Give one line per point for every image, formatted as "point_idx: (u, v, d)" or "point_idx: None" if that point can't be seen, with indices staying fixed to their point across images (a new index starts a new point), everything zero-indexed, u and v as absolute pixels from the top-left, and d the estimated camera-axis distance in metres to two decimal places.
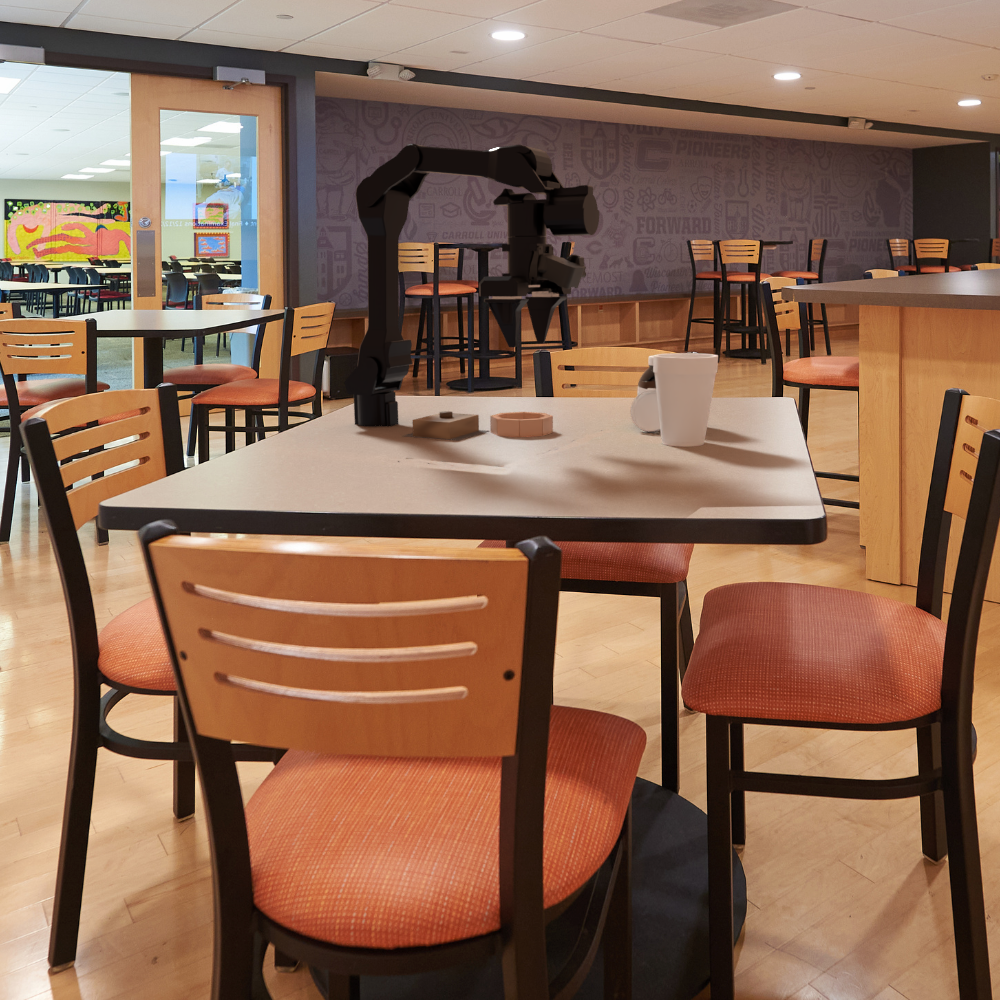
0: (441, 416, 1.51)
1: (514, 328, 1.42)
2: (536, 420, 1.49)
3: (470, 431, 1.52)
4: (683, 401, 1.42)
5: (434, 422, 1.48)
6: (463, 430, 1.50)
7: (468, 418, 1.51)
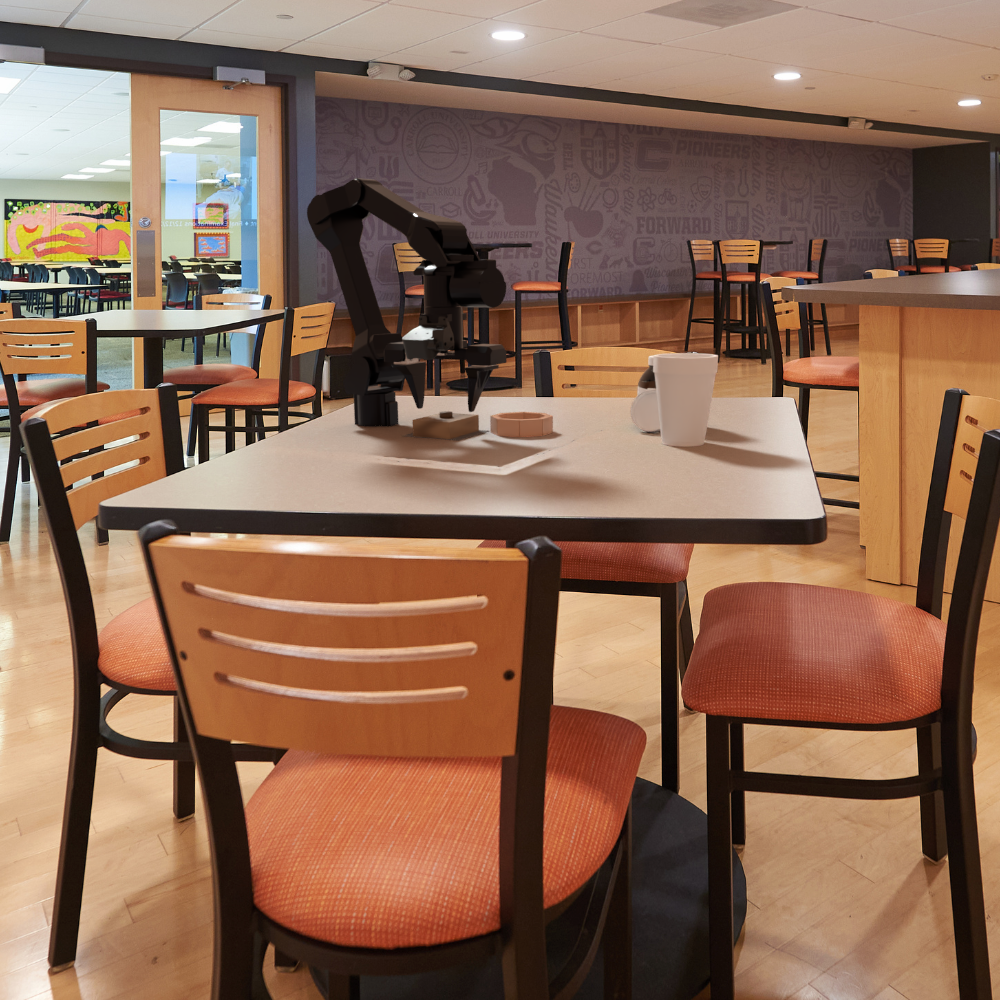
0: (441, 416, 1.51)
1: (412, 391, 1.53)
2: (536, 420, 1.49)
3: (470, 431, 1.52)
4: (683, 401, 1.42)
5: (434, 422, 1.48)
6: (463, 430, 1.50)
7: (468, 418, 1.51)
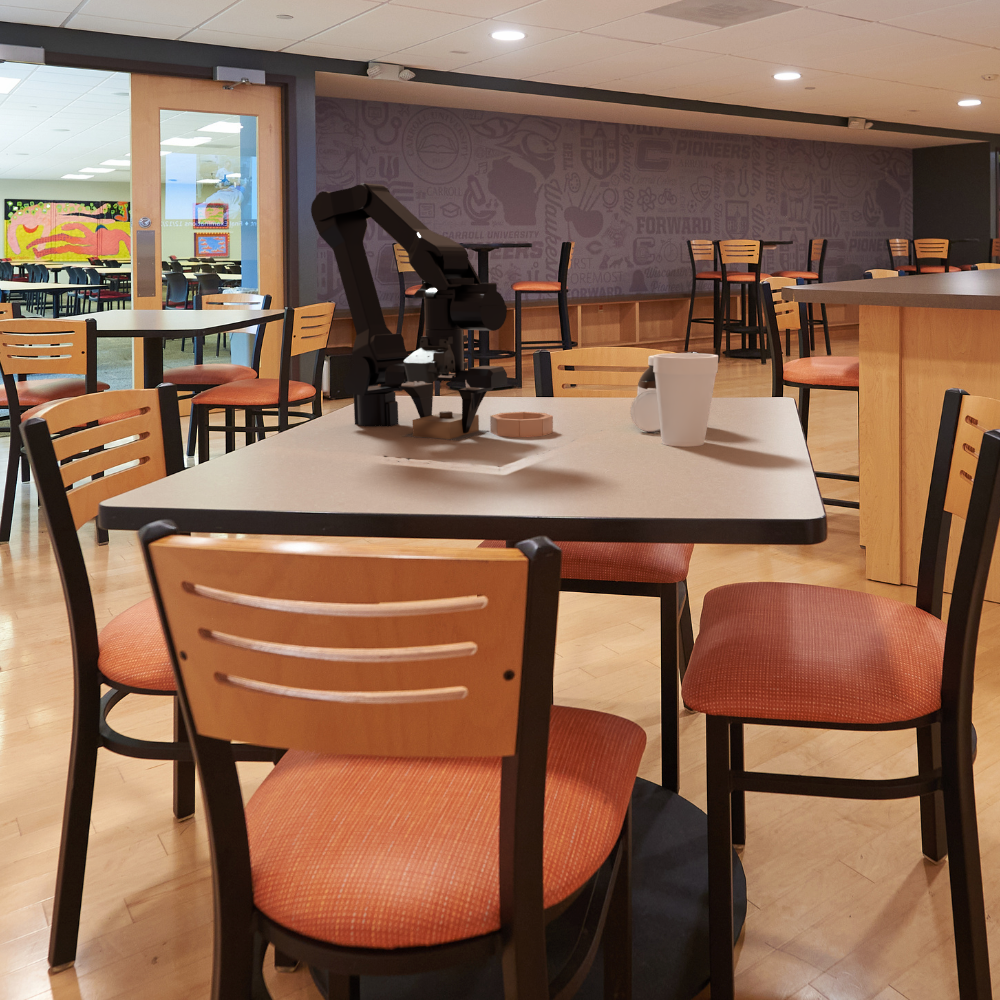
0: (441, 416, 1.51)
1: (419, 413, 1.53)
2: (536, 420, 1.49)
3: (470, 431, 1.52)
4: (683, 401, 1.42)
5: (434, 422, 1.48)
6: None
7: None
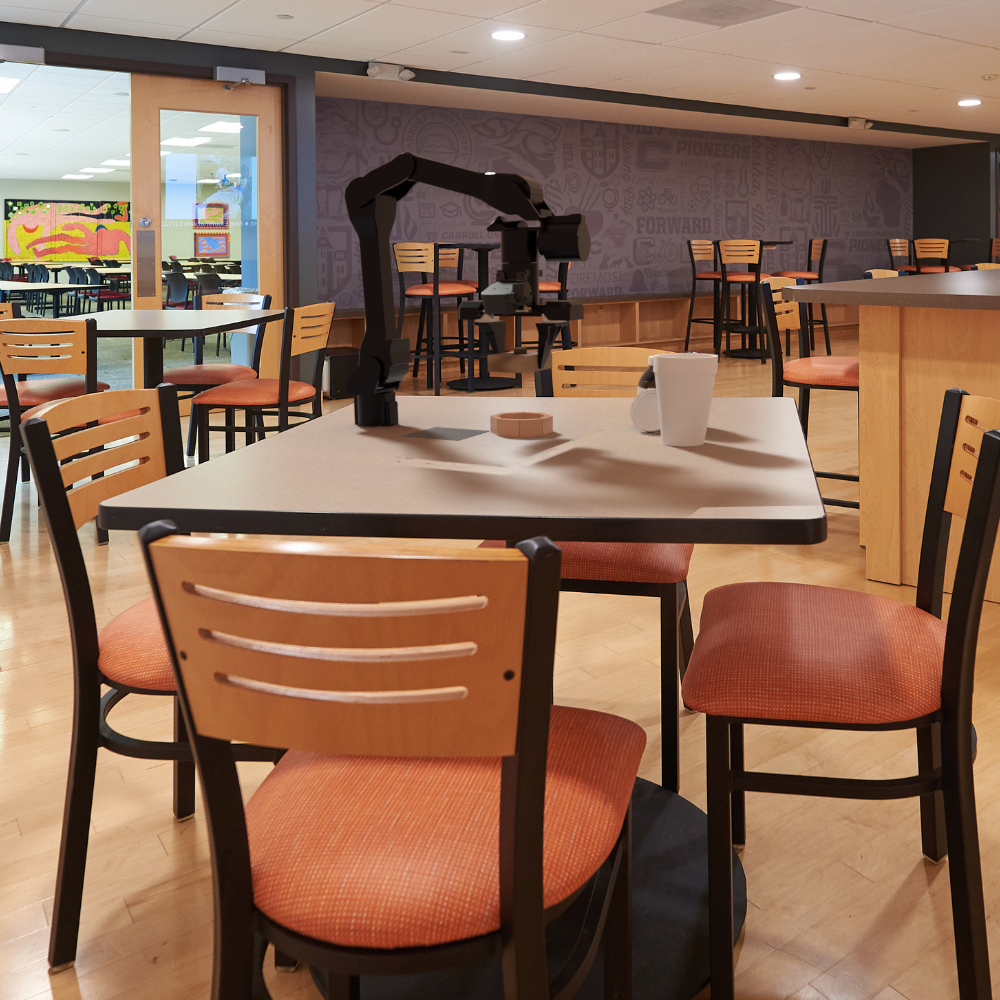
0: (516, 352, 1.49)
1: (493, 349, 1.51)
2: (536, 420, 1.49)
3: (544, 368, 1.51)
4: (683, 401, 1.42)
5: (510, 356, 1.46)
6: None
7: None
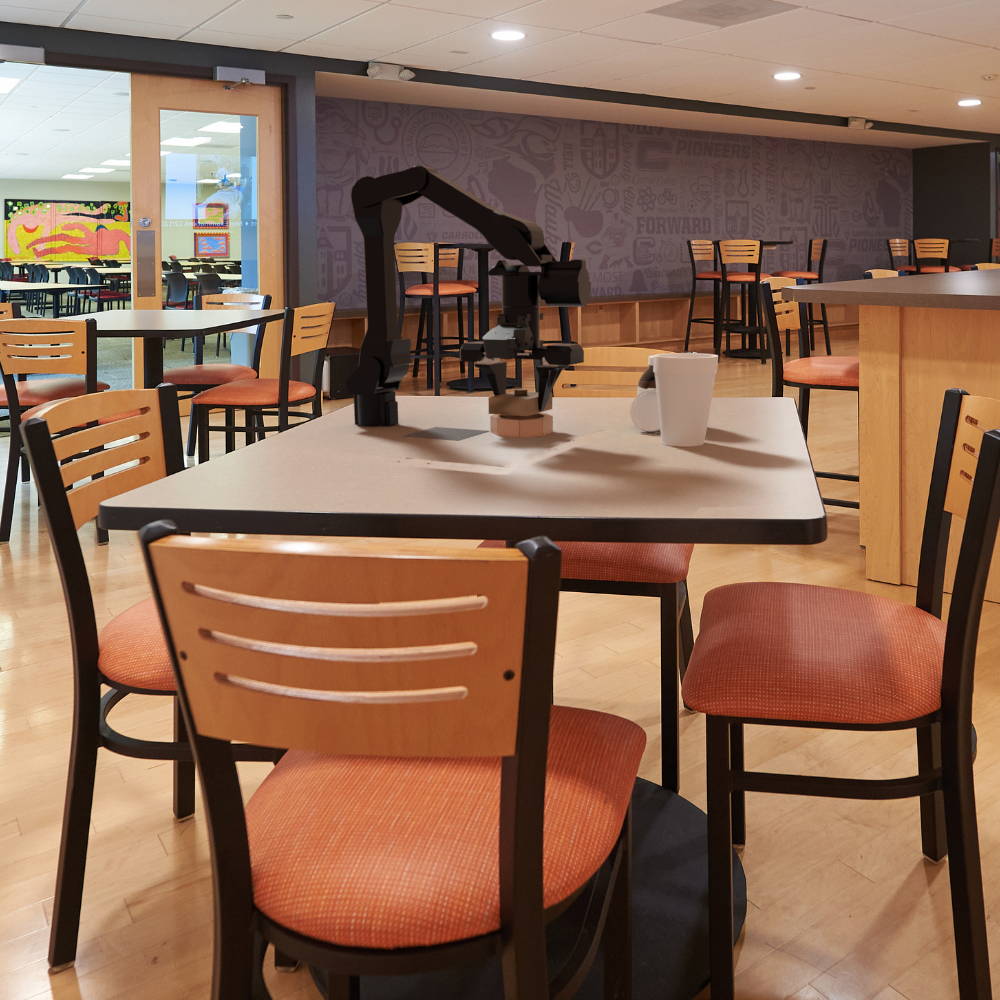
0: (516, 394, 1.51)
1: (494, 391, 1.53)
2: (536, 420, 1.49)
3: (545, 409, 1.52)
4: (683, 401, 1.42)
5: (511, 399, 1.47)
6: None
7: None
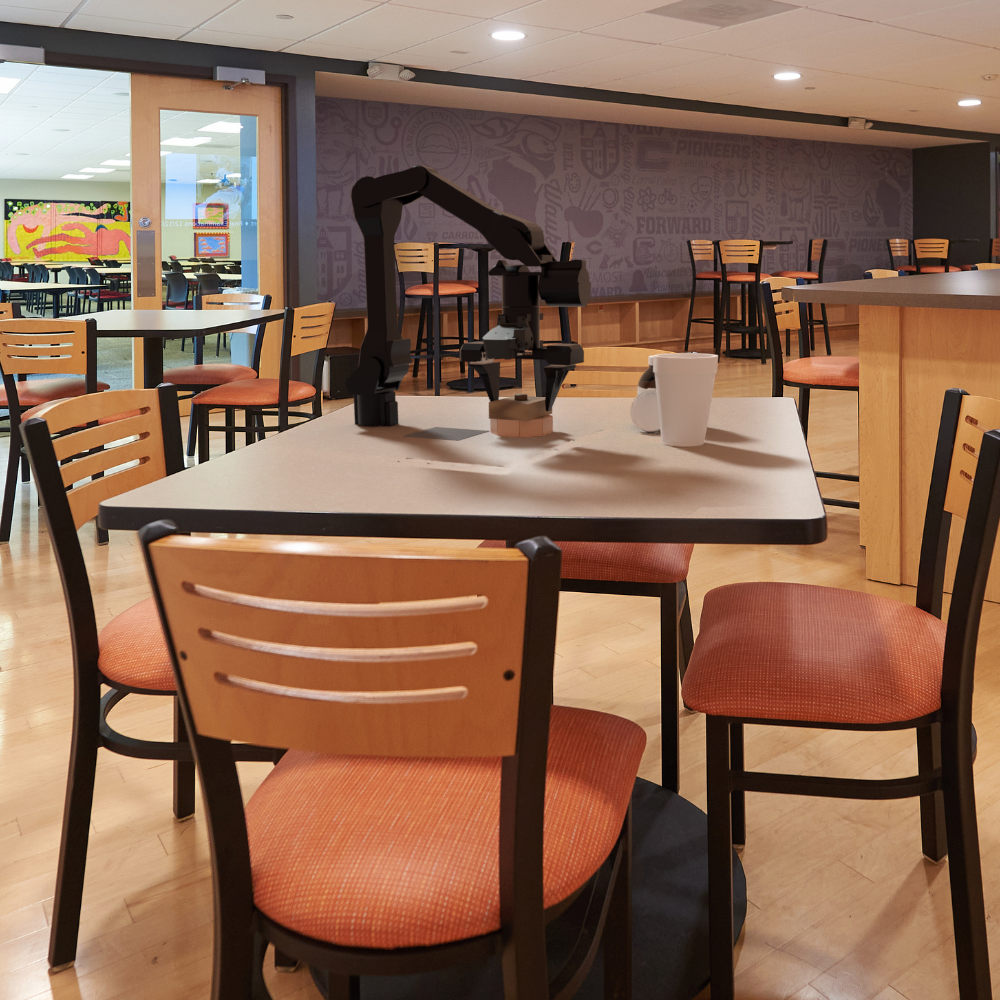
0: (516, 398, 1.51)
1: (487, 391, 1.53)
2: (536, 420, 1.49)
3: (545, 414, 1.52)
4: (683, 401, 1.42)
5: (511, 404, 1.48)
6: (539, 412, 1.50)
7: (543, 400, 1.52)
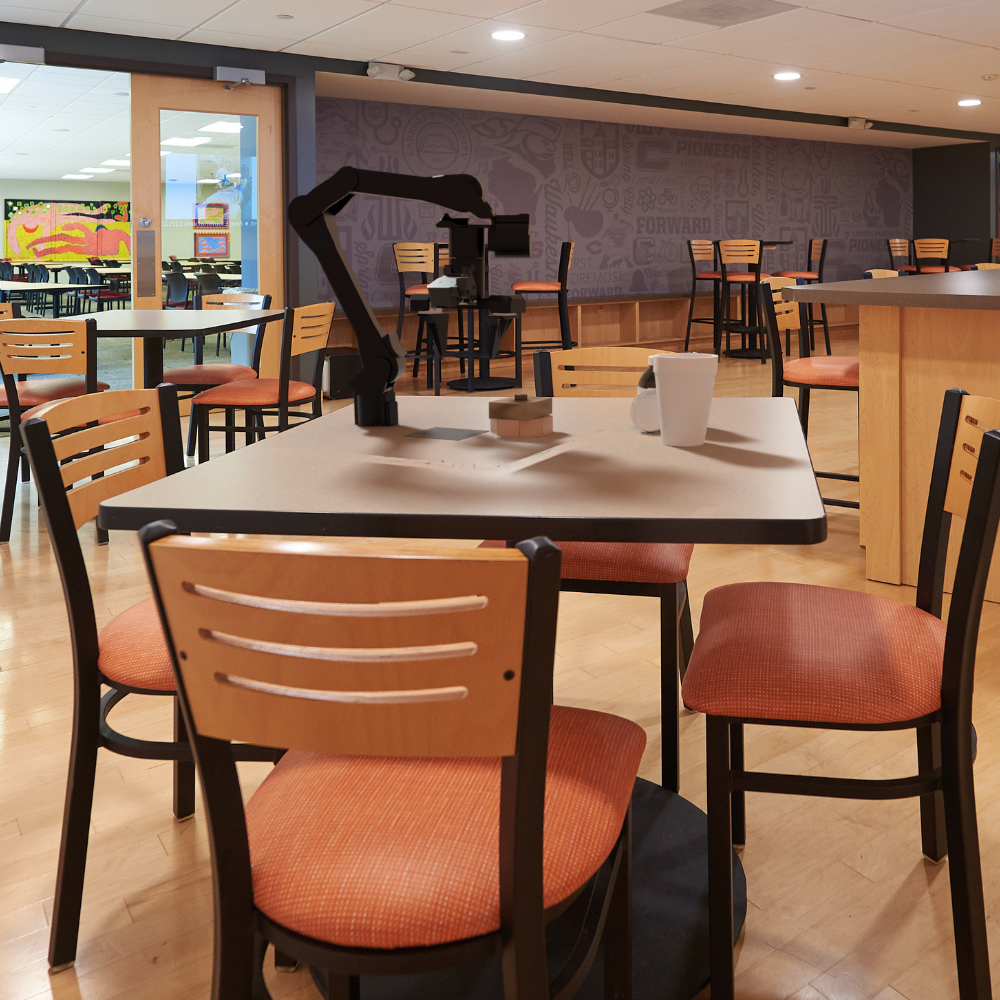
0: (516, 398, 1.51)
1: (435, 340, 1.60)
2: (536, 420, 1.49)
3: (545, 414, 1.52)
4: (683, 401, 1.42)
5: (511, 404, 1.48)
6: (539, 412, 1.50)
7: (543, 400, 1.52)
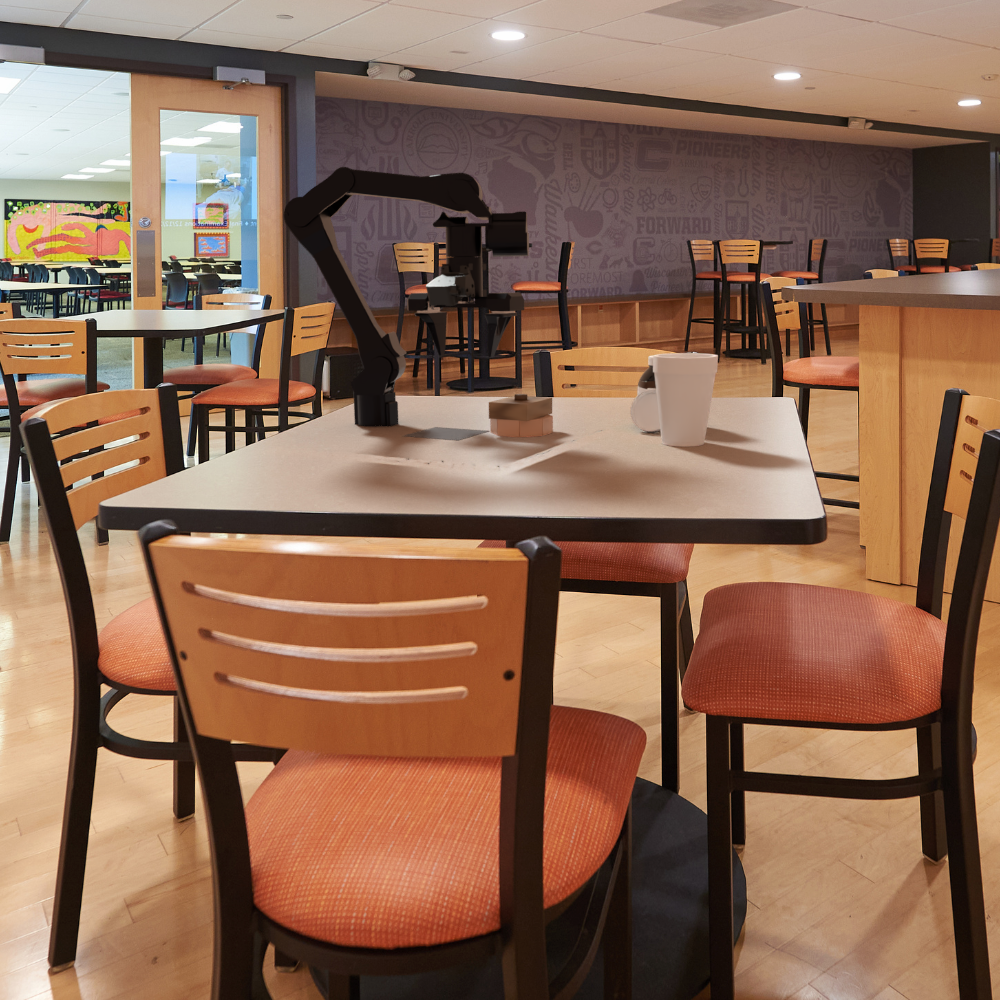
0: (516, 398, 1.51)
1: (434, 339, 1.61)
2: (536, 420, 1.49)
3: (545, 414, 1.52)
4: (683, 401, 1.42)
5: (511, 404, 1.48)
6: (539, 412, 1.50)
7: (543, 400, 1.52)
